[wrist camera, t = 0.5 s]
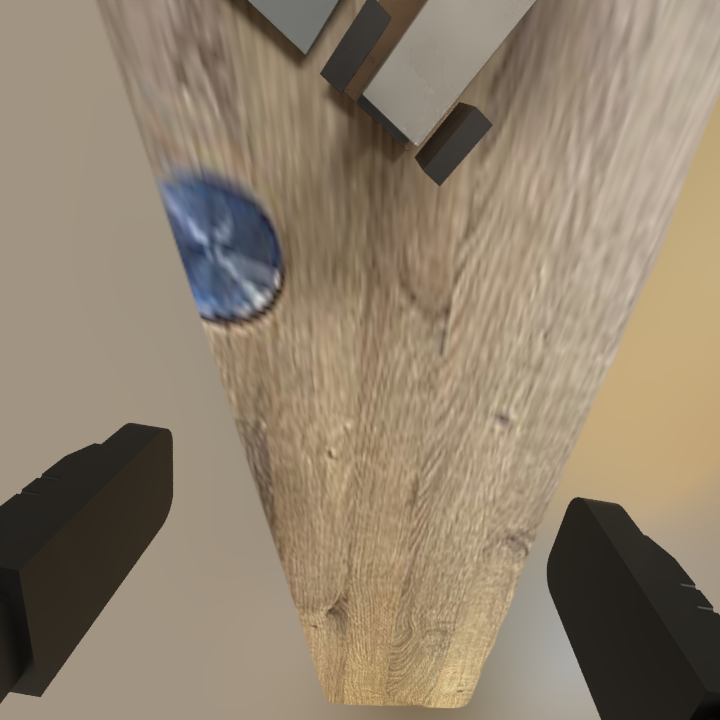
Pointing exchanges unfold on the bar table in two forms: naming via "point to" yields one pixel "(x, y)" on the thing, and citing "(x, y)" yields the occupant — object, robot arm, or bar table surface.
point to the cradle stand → (363, 59)
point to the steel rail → (439, 60)
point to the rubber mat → (298, 18)
